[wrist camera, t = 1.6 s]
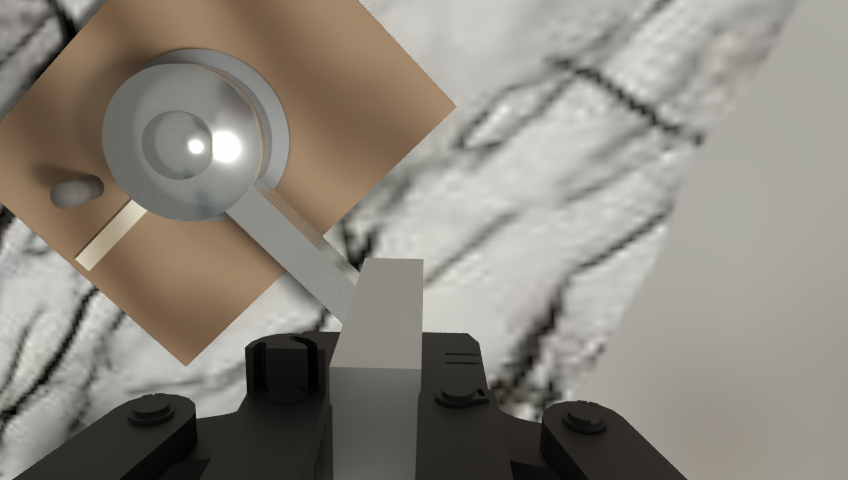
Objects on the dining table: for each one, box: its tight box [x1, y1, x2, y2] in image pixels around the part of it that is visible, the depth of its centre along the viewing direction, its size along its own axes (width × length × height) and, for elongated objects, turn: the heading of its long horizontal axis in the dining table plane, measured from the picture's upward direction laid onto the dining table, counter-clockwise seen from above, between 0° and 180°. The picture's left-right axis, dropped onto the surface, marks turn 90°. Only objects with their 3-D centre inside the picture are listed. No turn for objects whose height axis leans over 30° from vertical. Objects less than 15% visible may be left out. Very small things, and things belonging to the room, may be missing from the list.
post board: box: [0, 0, 456, 366], centre depth 32 cm, size 20×15×4 cm
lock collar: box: [102, 64, 360, 324], centre depth 32 cm, size 7×17×3 cm, turn 44°
